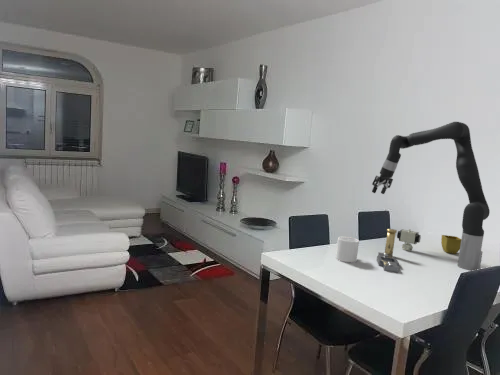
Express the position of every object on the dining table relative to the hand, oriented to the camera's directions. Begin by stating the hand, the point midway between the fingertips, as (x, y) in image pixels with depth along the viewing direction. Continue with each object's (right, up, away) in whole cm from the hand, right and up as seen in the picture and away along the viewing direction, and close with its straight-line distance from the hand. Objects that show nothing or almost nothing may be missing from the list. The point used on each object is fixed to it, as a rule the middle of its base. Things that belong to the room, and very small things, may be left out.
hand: (377, 193), depth 234 cm
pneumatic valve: (+12, -32, -13) cm, 37 cm away
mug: (-29, -32, -43) cm, 61 cm away
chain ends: (-10, -34, -45) cm, 57 cm away
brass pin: (-4, -33, -29) cm, 44 cm away
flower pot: (+38, -34, -10) cm, 52 cm away
